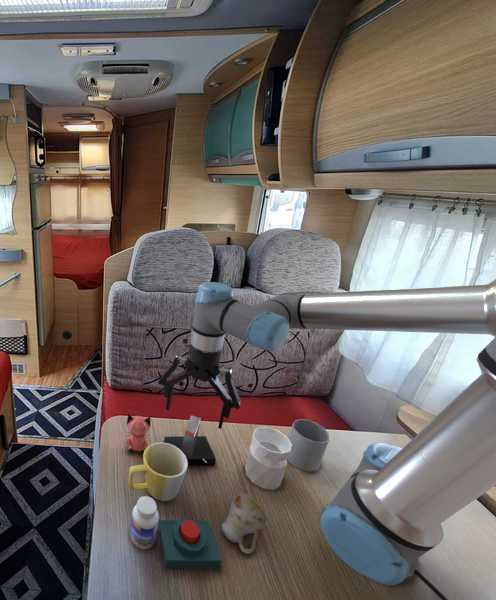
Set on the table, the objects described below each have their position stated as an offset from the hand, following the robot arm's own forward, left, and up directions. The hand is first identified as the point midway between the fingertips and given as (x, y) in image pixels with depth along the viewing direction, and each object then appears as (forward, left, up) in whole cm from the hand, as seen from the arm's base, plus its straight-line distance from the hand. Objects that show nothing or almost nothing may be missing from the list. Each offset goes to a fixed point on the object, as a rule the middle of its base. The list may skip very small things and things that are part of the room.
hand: (193, 416), depth 86 cm
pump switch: (-15, +20, -13) cm, 28 cm away
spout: (0, 0, -11) cm, 11 cm away
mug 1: (-2, +16, -13) cm, 21 cm away
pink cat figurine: (+10, +10, -13) cm, 20 cm away
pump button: (-15, +20, -10) cm, 27 cm away
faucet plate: (0, 0, -13) cm, 13 cm away
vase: (-16, -10, -13) cm, 23 cm away
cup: (-20, -24, -13) cm, 34 cm away
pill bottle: (-8, +26, -13) cm, 30 cm away
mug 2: (-20, +8, -13) cm, 26 cm away
